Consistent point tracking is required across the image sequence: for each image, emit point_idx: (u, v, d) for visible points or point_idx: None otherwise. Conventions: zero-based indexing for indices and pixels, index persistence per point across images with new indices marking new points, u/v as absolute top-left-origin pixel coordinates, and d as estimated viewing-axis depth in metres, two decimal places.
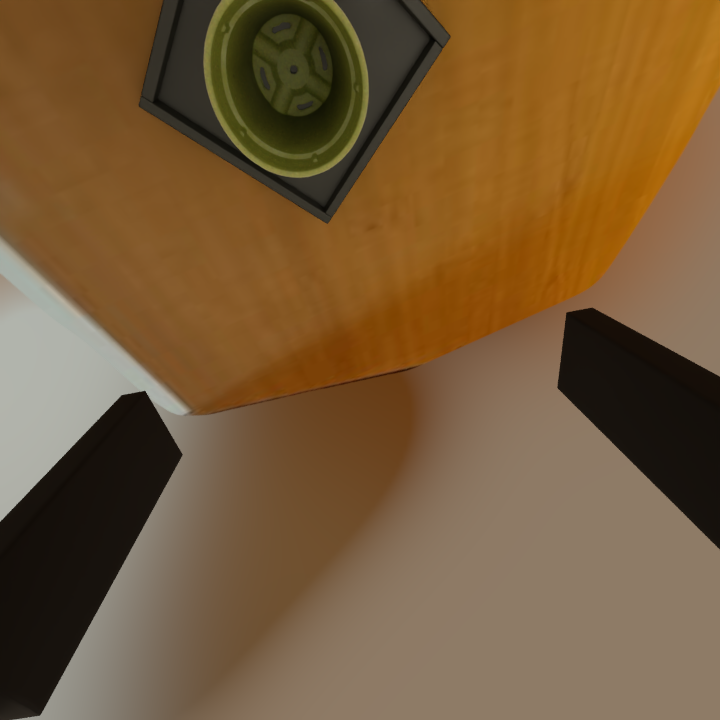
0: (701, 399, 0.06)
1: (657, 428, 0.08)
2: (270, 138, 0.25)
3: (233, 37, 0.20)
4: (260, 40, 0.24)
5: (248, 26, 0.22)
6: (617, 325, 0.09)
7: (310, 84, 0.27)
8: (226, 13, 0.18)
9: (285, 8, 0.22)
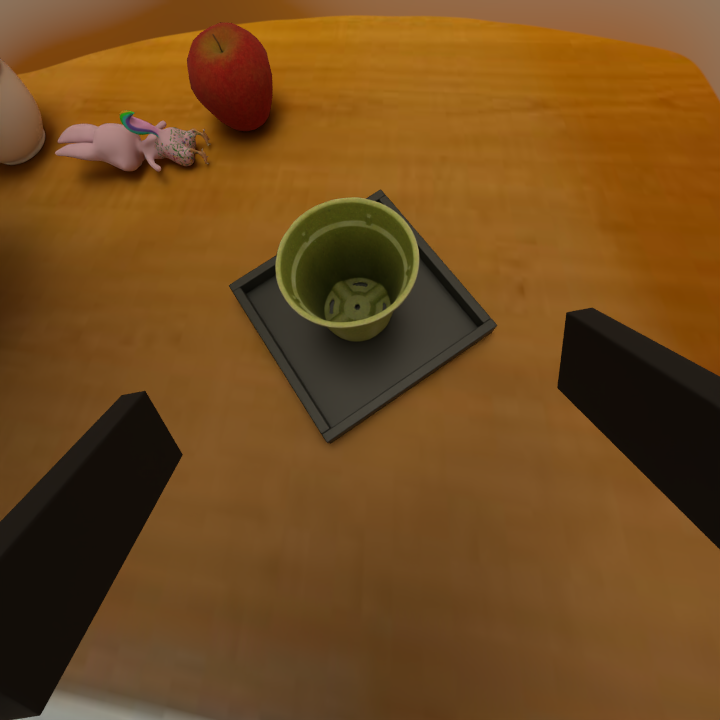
0: (701, 399, 0.06)
1: (657, 428, 0.08)
2: None
3: (307, 307, 0.25)
4: None
5: (313, 308, 0.27)
6: (617, 325, 0.09)
7: (371, 298, 0.31)
8: (286, 286, 0.23)
9: (317, 284, 0.29)
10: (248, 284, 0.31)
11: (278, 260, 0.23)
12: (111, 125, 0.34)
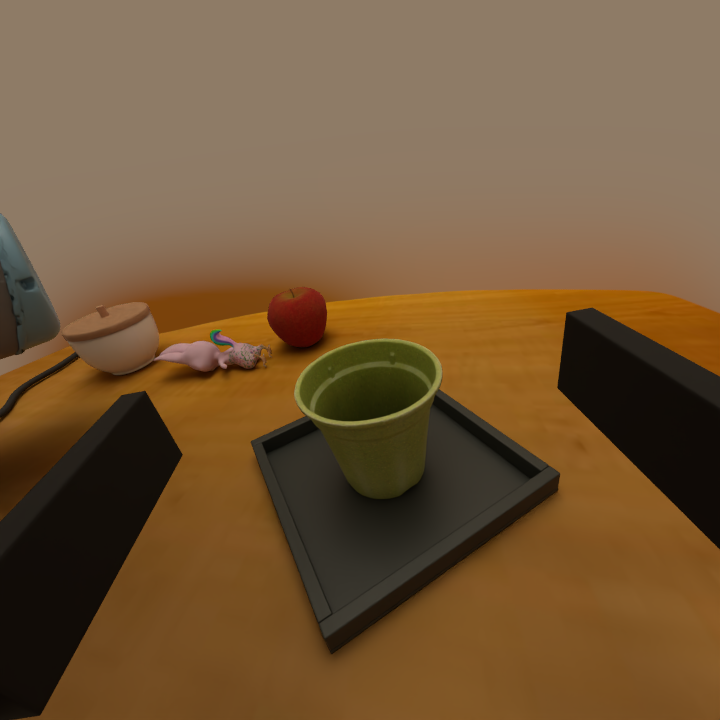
0: (701, 399, 0.06)
1: (657, 428, 0.08)
2: None
3: (323, 432, 0.22)
4: None
5: None
6: (617, 325, 0.09)
7: None
8: (302, 399, 0.22)
9: None
10: (270, 441, 0.30)
11: (300, 379, 0.23)
12: (202, 341, 0.45)
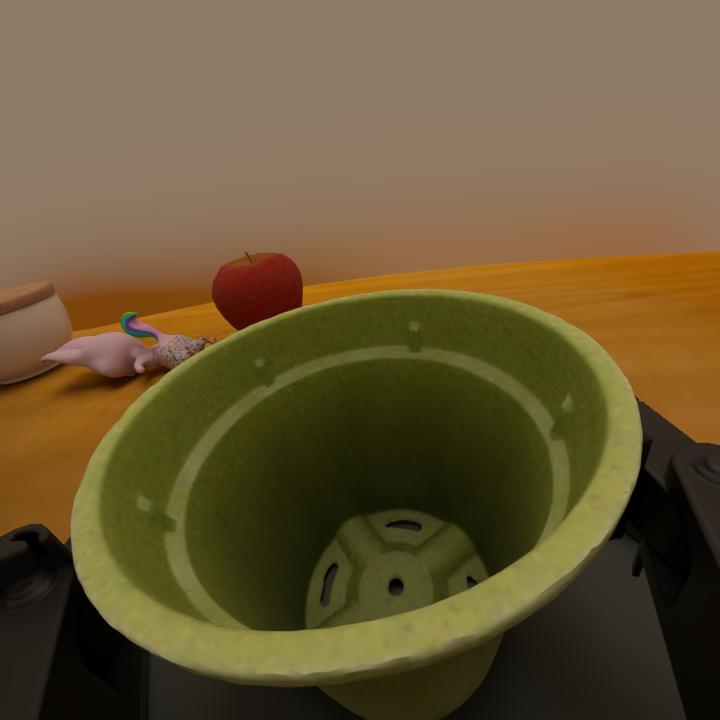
0: None
1: None
2: None
3: (207, 559, 0.07)
4: None
5: (252, 576, 0.09)
6: None
7: (434, 563, 0.11)
8: (129, 459, 0.07)
9: (292, 510, 0.11)
10: None
11: (151, 390, 0.08)
12: (114, 332, 0.30)
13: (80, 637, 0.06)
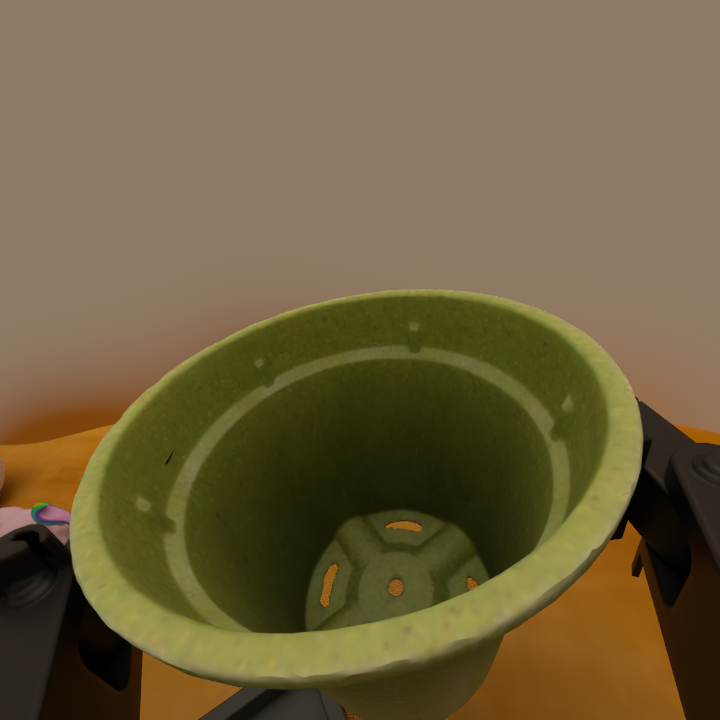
0: None
1: None
2: None
3: (207, 560, 0.07)
4: None
5: (252, 576, 0.09)
6: None
7: (434, 564, 0.11)
8: (129, 460, 0.07)
9: (292, 511, 0.11)
10: None
11: (151, 391, 0.08)
12: (29, 512, 0.29)
13: (80, 637, 0.06)
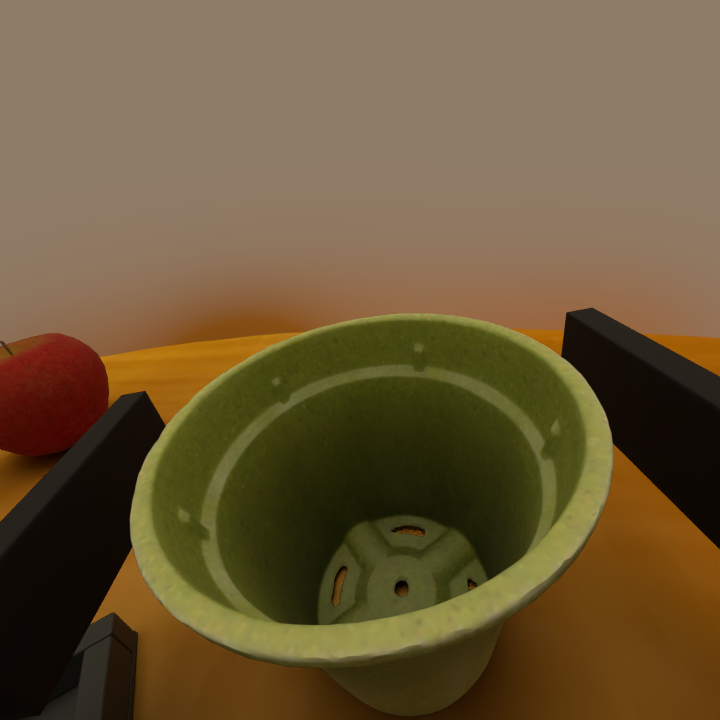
0: (701, 399, 0.06)
1: (658, 428, 0.08)
2: None
3: (236, 564, 0.08)
4: None
5: (272, 578, 0.10)
6: (617, 325, 0.09)
7: (437, 567, 0.12)
8: (169, 476, 0.07)
9: (305, 517, 0.12)
10: None
11: (183, 411, 0.09)
12: None
13: None
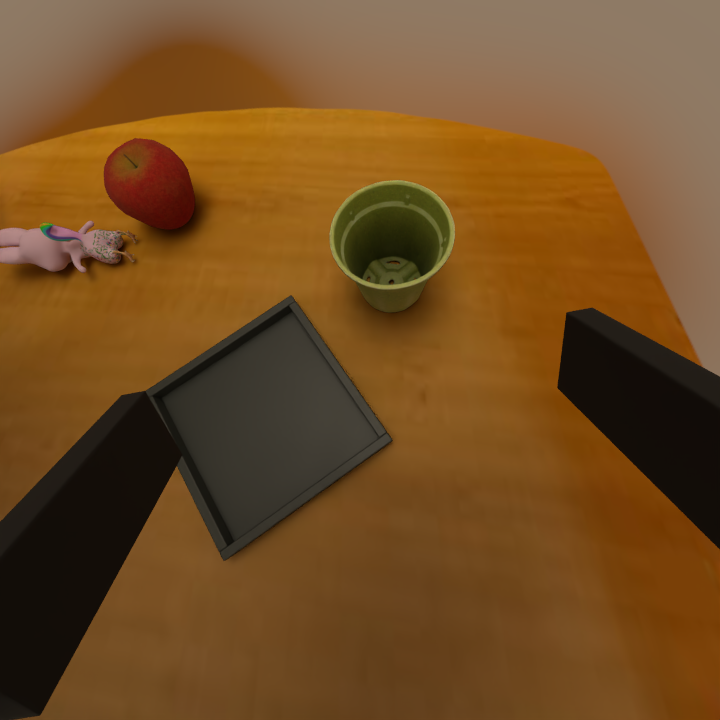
0: (701, 399, 0.06)
1: (658, 428, 0.08)
2: None
3: None
4: None
5: None
6: (617, 325, 0.09)
7: (404, 274, 0.34)
8: (338, 256, 0.26)
9: (357, 260, 0.32)
10: (161, 391, 0.32)
11: (332, 234, 0.26)
12: (35, 232, 0.35)
13: None
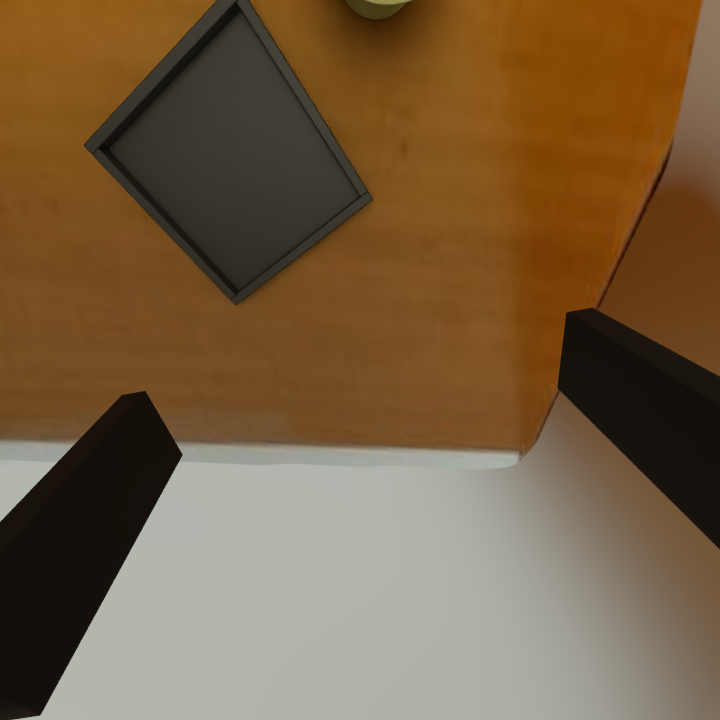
0: (701, 399, 0.06)
1: (658, 428, 0.08)
2: None
3: None
4: None
5: None
6: (617, 325, 0.09)
7: None
8: None
9: None
10: (106, 142, 0.28)
11: None
12: None
13: None
